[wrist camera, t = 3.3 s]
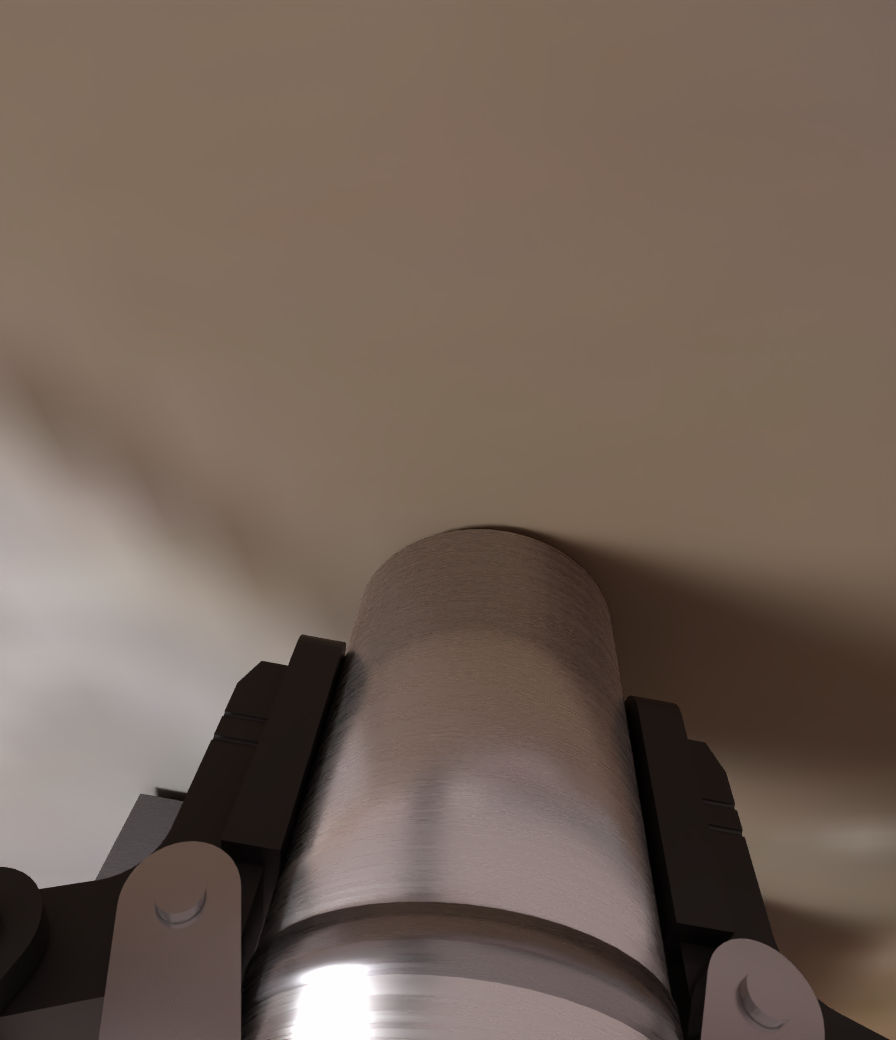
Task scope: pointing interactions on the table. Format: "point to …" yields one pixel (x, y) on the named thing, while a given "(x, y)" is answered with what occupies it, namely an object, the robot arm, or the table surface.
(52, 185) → the table surface
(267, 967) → the piston
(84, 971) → the robot arm
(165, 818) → the grey block with hole
